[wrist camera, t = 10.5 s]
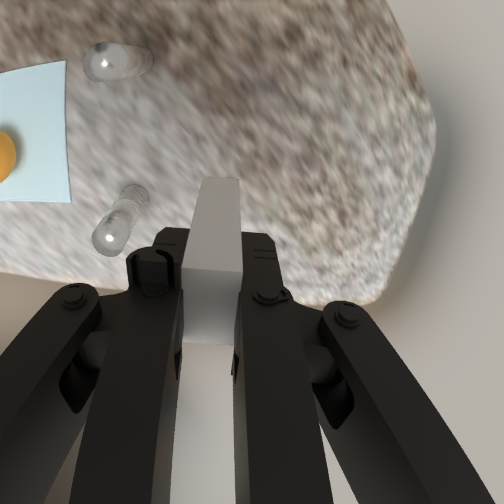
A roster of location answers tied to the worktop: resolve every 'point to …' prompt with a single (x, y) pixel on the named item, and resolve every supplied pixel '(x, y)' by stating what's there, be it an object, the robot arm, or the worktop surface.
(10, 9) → the worktop surface
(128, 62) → the post
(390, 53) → the worktop surface
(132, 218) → the post
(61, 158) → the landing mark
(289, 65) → the worktop surface
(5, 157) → the ball
